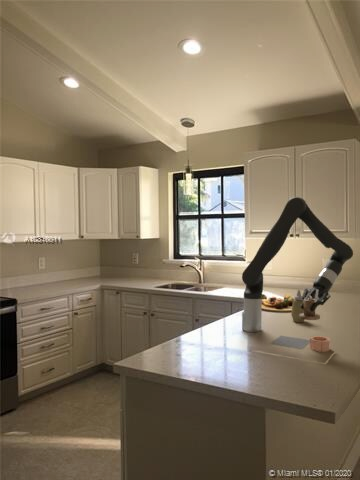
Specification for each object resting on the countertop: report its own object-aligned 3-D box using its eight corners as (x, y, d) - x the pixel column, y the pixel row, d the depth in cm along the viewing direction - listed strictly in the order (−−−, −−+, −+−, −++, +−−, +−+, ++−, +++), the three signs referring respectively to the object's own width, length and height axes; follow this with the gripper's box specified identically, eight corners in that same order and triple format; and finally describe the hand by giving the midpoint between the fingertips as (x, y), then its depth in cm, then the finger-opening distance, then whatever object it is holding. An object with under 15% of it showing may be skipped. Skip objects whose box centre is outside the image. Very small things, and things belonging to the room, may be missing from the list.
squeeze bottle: (305, 320, 234) (306, 289, 233) (306, 323, 226) (306, 291, 225) (291, 319, 236) (291, 288, 235) (291, 322, 228) (291, 290, 227)
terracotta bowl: (308, 350, 178) (308, 339, 177) (313, 346, 184) (313, 335, 184) (327, 353, 173) (327, 342, 173) (331, 349, 180) (331, 337, 180)
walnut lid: (296, 318, 181) (296, 301, 181) (302, 314, 188) (302, 297, 188) (317, 320, 176) (317, 302, 176) (322, 316, 184) (322, 299, 183)
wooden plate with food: (243, 305, 277) (243, 293, 277) (280, 300, 291) (281, 289, 290) (272, 316, 248) (273, 302, 248) (312, 310, 262) (312, 298, 261)
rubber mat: (269, 345, 186) (269, 343, 186) (280, 336, 200) (280, 335, 200) (302, 350, 178) (302, 349, 178) (311, 341, 192) (311, 340, 192)
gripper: (309, 273, 191) (290, 301, 186) (333, 277, 179) (314, 307, 173) (317, 284, 194) (299, 311, 189) (342, 287, 181) (323, 317, 176)
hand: (306, 309), depth 181 cm, fingers closed on walnut lid, 5 cm apart
